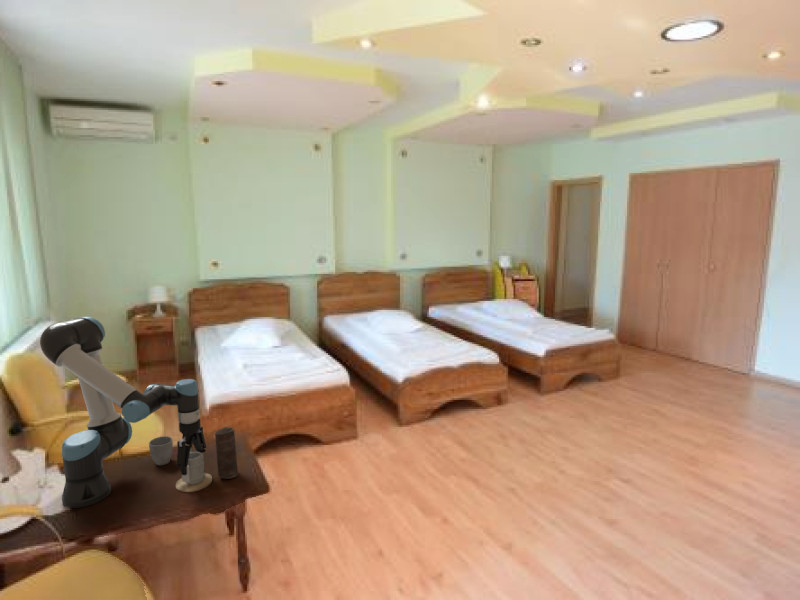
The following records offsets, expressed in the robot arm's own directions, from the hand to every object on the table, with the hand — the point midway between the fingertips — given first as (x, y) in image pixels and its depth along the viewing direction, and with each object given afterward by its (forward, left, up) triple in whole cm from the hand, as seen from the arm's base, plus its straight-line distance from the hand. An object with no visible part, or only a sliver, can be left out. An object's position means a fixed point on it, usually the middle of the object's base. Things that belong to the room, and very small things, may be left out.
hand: (193, 474), depth 186 cm
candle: (+11, +7, -4) cm, 13 cm away
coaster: (0, 0, -3) cm, 3 cm away
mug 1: (-23, +14, -4) cm, 27 cm away
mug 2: (0, +1, -2) cm, 2 cm away
